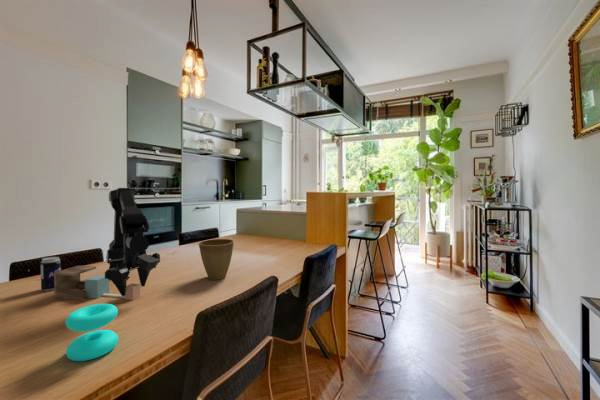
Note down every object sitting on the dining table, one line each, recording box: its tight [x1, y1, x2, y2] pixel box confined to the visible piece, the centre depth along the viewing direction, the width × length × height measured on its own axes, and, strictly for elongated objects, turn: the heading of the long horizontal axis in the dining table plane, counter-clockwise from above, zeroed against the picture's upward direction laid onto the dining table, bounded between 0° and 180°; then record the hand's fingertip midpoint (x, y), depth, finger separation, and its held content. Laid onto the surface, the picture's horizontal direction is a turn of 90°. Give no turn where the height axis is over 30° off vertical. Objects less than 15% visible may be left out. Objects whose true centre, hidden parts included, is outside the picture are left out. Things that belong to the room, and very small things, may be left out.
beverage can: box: [40, 256, 62, 292], centre depth 105 cm, size 6×6×12 cm
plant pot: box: [198, 238, 235, 281], centre depth 121 cm, size 15×15×16 cm
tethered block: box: [84, 274, 141, 301], centre depth 98 cm, size 5×18×6 cm, turn 82°
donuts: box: [65, 303, 119, 362], centre depth 65 cm, size 10×10×10 cm
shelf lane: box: [53, 265, 97, 300], centre depth 100 cm, size 9×12×9 cm
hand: (133, 290), depth 97 cm, fingers open, 9 cm apart
